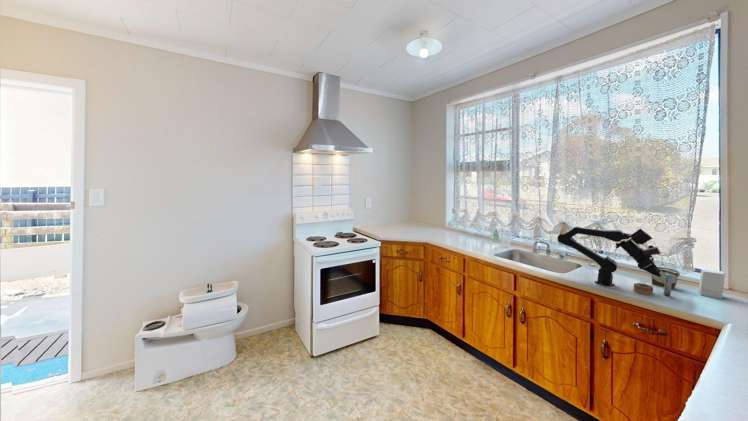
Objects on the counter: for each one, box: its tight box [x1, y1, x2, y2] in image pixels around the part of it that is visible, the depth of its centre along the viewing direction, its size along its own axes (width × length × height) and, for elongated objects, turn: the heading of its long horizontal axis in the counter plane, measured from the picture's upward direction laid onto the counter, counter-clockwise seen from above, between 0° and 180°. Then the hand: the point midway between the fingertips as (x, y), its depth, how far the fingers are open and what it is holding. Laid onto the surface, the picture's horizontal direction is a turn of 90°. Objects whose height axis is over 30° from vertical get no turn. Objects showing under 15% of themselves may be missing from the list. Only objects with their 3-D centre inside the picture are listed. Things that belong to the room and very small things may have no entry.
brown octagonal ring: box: [633, 282, 654, 295], centre depth 152 cm, size 7×7×4 cm
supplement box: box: [698, 268, 726, 300], centre depth 148 cm, size 7×7×13 cm
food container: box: [650, 266, 681, 291], centre depth 160 cm, size 12×6×10 cm, turn 22°
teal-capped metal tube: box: [663, 274, 672, 297], centre depth 147 cm, size 2×2×11 cm
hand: (659, 274), depth 149 cm, fingers open, 9 cm apart
